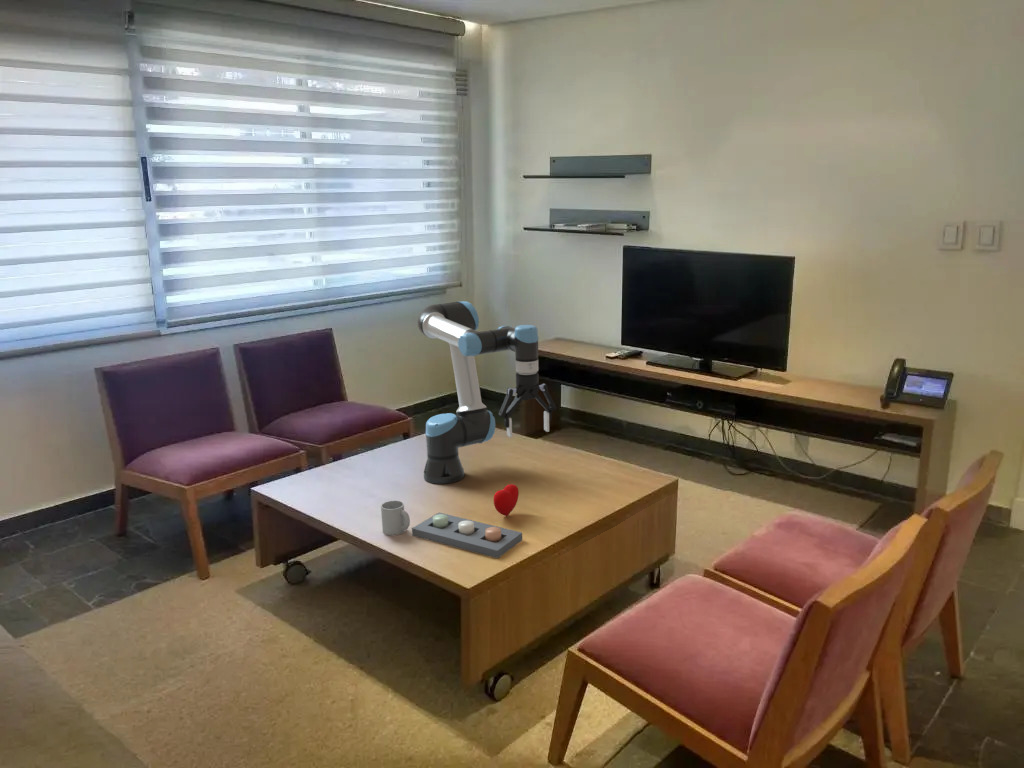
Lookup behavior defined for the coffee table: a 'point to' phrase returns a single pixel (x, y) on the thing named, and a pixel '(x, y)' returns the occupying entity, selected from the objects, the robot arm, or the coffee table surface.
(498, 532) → the peach button
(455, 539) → the panel
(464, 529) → the cream button
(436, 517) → the sage button
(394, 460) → the coffee table surface
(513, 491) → the heart
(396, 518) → the cup
